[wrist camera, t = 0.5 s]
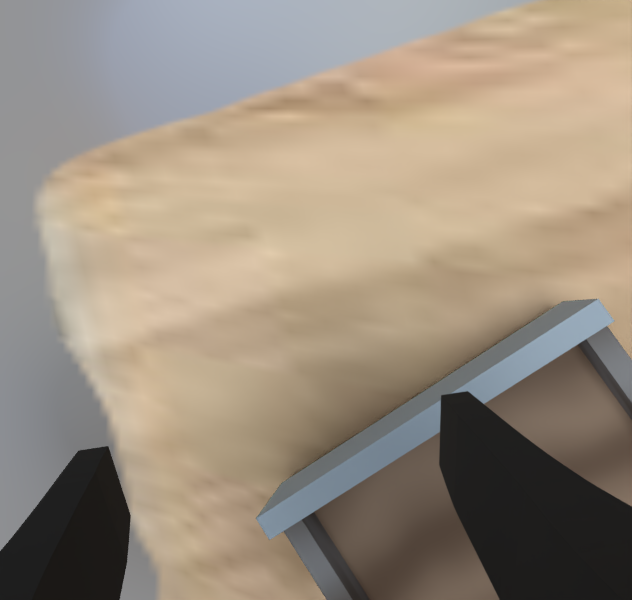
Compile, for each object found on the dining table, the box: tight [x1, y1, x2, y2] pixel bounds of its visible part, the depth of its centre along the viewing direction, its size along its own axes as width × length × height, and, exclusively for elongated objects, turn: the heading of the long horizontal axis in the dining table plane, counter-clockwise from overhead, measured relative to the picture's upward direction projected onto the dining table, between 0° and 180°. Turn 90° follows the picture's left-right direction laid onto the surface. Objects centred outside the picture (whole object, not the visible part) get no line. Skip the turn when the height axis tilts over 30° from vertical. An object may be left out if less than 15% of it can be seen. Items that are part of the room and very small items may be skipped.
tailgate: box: [256, 299, 614, 540], centre depth 30 cm, size 1×19×6 cm, turn 124°
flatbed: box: [284, 326, 632, 600], centre depth 32 cm, size 13×20×4 cm, turn 124°
